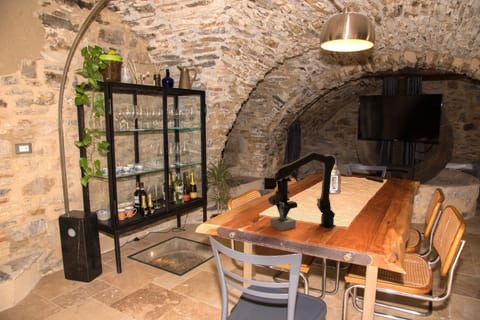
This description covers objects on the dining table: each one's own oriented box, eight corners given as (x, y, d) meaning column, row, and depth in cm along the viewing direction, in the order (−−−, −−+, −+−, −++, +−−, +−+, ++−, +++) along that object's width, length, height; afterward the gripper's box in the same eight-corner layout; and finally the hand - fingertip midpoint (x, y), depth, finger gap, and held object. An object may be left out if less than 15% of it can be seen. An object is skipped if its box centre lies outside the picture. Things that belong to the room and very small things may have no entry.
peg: (287, 222, 177) (287, 204, 176) (282, 223, 176) (282, 205, 174) (283, 220, 180) (283, 203, 179) (278, 221, 179) (278, 204, 177)
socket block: (295, 227, 176) (295, 220, 176) (280, 230, 172) (280, 223, 171) (284, 222, 185) (284, 215, 185) (270, 225, 181) (270, 218, 180)
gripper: (261, 187, 180) (261, 214, 182) (280, 195, 163) (280, 224, 166) (277, 185, 185) (277, 211, 187) (297, 192, 169) (297, 220, 171)
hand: (282, 216), depth 178 cm, fingers closed on peg, 3 cm apart
